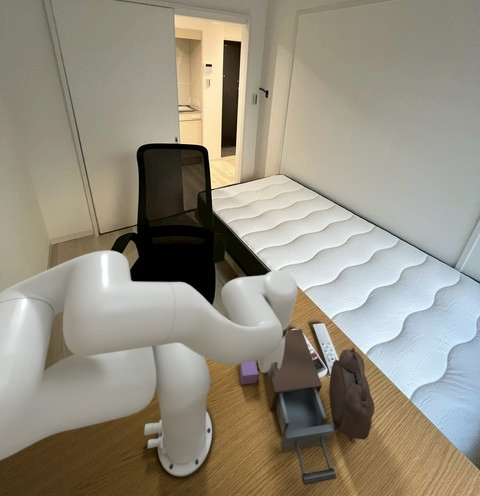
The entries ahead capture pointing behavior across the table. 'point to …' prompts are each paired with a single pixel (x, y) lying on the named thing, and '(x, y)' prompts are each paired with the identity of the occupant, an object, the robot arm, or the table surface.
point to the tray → (304, 428)
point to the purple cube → (248, 372)
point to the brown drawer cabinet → (293, 369)
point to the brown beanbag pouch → (350, 396)
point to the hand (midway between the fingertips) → (262, 366)
